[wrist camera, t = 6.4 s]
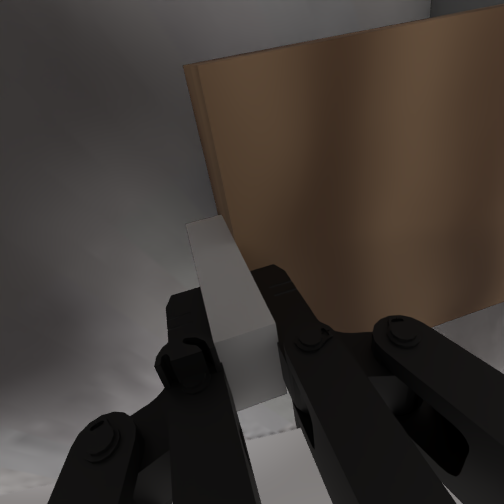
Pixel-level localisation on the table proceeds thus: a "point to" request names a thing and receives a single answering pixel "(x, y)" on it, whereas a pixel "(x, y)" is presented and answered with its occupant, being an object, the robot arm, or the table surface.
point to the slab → (366, 165)
